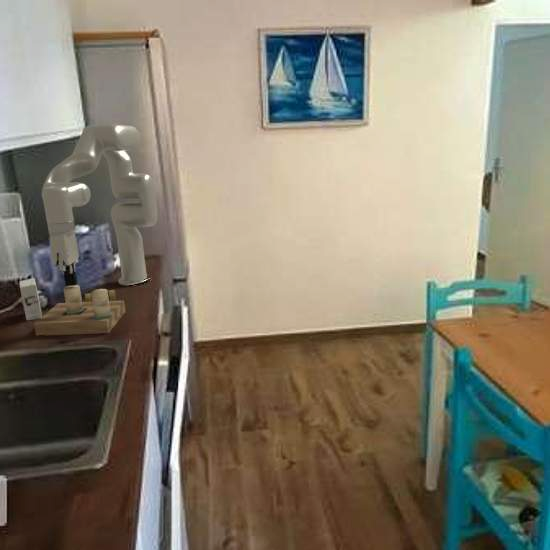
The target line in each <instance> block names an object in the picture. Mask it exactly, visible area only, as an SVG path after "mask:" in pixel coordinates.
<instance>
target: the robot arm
mask: <svg viewBox="0 0 550 550" xmlns="http://www.w3.org/2000/svg"><path fill="white" fill-rule="evenodd" d="M140 144H141V134H140V132H139V131H138V129H137V128H136V127H135V126H133V125H125V124H119V123H117V124H116V123H109V124H108V123H105V124H91V125H87V126H86V127H85V128H84V129H83V130H82V132H81V134H80V136H79V138H78V140H77V143H76V145H75V148H74V149H73V152H72V154H71V155H70V156H68V157H66V158H65V159H64V160H62V161H61V162H60V163H58V164H57V165H56V166H54V167H53V168H52V169H51V170H50V171H49V172H48V175H47V177H46V179H45V181H44V183H43V186H42V191H41V197H42V200H43V201H42V202H43V207H44V212H45V219H46V223H47V228H48V229H47V230H48V235H49V245H50V254H51V263H52V266H53V267H58V270H59V272H62V275H63V278H64V284H65V287H67V286H75V285H78V279H77V273H76V272H77V271H76V270H77V268H76V263H77V260H78V259H79V258H80V252H79V246H78V241H77V236H76V233H75V232H76V225H75V220H74V219H75V218H74V213H73V208H75V207H83V206H85V205H87V204H88V203H89V202H90V200H91V194H92V192H91V190H90V187H89V186H88V185H87V184H85V183H84V182H79V181H73V180H75V179H78V178H81V177H83V176H87V175H88V174H91V173H92V172H94V171H96V170H97V169H98V168H99V167H98V166H99V164H100V162H101V159H102V157H103V156H104V158H105V159H106V162H107V165H108V170H109V177H110V185H111V191H112V194H113V196H114V198H116V199H120V200H138V199H139V200H140V201H137V202H135V201H129V202H127V201H125V202H118V203H116V204H114V205H113V206H112V207H111V210H110V218H111V221H112V224H113V227H114V231H115V236H116V241H117V243H116V244H117V249H118V256H119V265H120V271H121V277H120V278H119V279H118V281H117V282H118V284H119V285H121V286H125V287H126V286H129V285H133V286H135V285H134V284H138V283H141V282H144V281H146V280H148V279H150V278H148V279H146V278H147V275H148V274H147V268H146V267H147V266H146V260H145V251H144V241H143V236H142V234H141V232H140V231H139V229H138V228H151V227H154V226H155V225H156V224H157V222H158V217H159V216H158V207H157V206H158V205H157V196H156V188H155V183H154V180H153V178H152V176H150V175H149V174H148V173H144V172H138V173H137V172H136V173H135V172H134V170H133V169H134V168H133V163H132V162H133V161H132V158H131V157H130V155H129V154H128V152H127V151H136V150H137V149H138V148H139V147H140ZM144 279H145V280H144Z"/></svg>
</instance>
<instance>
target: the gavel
mask: <svg viewBox="0 0 550 550" xmlns="http://www.w3.org/2000/svg"><path fill="white" fill-rule="evenodd" d="M97 289H103V287H102V286H101V285H97V286H95V288H94V290H97ZM107 291H108V298H109V301H117V300H116V292H115V291H116V290H115V289H110V290H107ZM84 299H85V300H84V302H92V297H91V292H89V293H84Z"/></svg>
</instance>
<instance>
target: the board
mask: <svg viewBox="0 0 550 550" xmlns="http://www.w3.org/2000/svg"><path fill="white" fill-rule="evenodd" d="M108 291H109V290H108V289H106V288H102V289H97V290H95V289H94V290H92V291H91V292H90V293H91V297H92V302H86V301H82V305H83V310H84V311H83V312H82V314H81V315H69V314H67V308H66V302H58V303H56V304H55V305H54V307H52V308H51V309H49V310H48V311H47V312H46V313H45V314H44V315H42V317H41V318H38V319H37V320H36V321H35V322H34V323H33V324H34V325H33V326H34V331H35V336H36V337H39V336H38V335H45V336H63V335H64V336H65V335H66V336H69V335H87V334H88V335H91V334H92V335H93V334H94V335H95V334H110V332H111V330H112V329H113V328H114V327H115V326H116V324H117V323H118V322H119V320H121V318H122V317H123V316H124V314H125V313H126V306H125V301H124V300H116V301H109V298H108Z"/></svg>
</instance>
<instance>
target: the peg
mask: <svg viewBox="0 0 550 550" xmlns="http://www.w3.org/2000/svg"><path fill="white" fill-rule="evenodd" d="M63 295H64V300H65V302H64V303H66V308H67V314H69V315H81V314H82V312H83V311H84V310H83V305H82V302H83V299H82V292H81V287H80V285H78V284H76V285H75V286H65V287H63Z"/></svg>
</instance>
